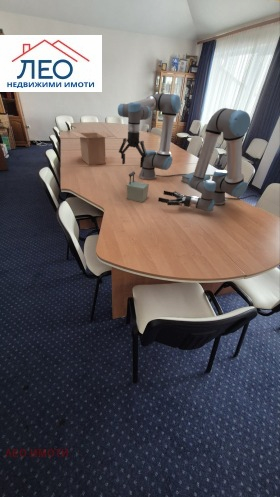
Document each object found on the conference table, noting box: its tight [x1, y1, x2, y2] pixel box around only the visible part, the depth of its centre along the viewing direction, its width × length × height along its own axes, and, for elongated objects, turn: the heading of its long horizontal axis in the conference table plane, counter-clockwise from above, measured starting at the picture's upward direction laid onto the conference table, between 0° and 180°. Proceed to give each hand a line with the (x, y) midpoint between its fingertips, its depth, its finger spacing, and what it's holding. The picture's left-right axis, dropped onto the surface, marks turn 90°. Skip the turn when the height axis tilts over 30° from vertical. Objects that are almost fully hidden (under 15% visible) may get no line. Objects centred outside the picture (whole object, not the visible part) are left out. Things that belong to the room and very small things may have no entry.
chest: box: [126, 185, 149, 203], centre depth 163 cm, size 13×10×10 cm
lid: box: [125, 171, 149, 190], centre depth 158 cm, size 14×10×9 cm
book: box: [180, 171, 211, 185], centre depth 203 cm, size 23×16×5 cm
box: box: [70, 129, 114, 166], centre depth 229 cm, size 44×36×27 cm
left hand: (132, 165), depth 154 cm, fingers open, 13 cm apart
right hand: (161, 195), depth 157 cm, fingers open, 13 cm apart
